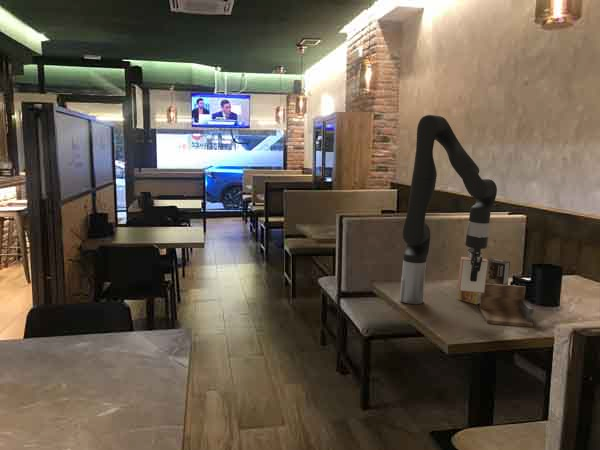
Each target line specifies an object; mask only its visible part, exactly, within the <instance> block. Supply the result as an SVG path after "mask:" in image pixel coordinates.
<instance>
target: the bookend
mask: <svg viewBox="0 0 600 450" xmlns="http://www.w3.org/2000/svg"><path fill="white" fill-rule="evenodd" d="M526 290H527V288H526V286H525V285H513V284H512V285H511V284H508V285H500V284H487V283H486V285H485V293H481V298H480V303H479V308H478V309H479V312H480V314H481V315H482V317H483V319H484V320H486V321H485V322H486V324H493V325H505V326H517V327H529V328H530V327H531V328H533V327H534V323H533V322H532V321H533V312H534V308H533V307H532V306H531V305H530V304H529V303H528V301H526V300H525V297H526Z"/></svg>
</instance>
